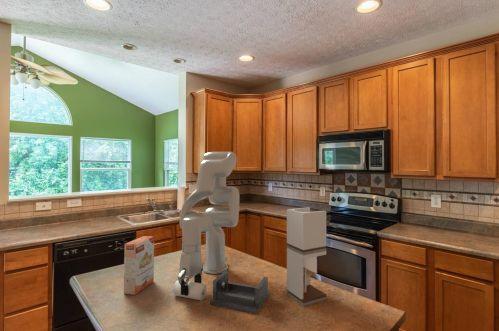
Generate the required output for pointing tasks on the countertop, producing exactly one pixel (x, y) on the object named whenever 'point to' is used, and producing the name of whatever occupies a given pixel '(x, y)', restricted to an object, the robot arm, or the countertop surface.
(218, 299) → the roll holder
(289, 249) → the white stand
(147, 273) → the cracker box
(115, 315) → the countertop surface
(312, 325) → the countertop surface
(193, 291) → the kitchen roll
